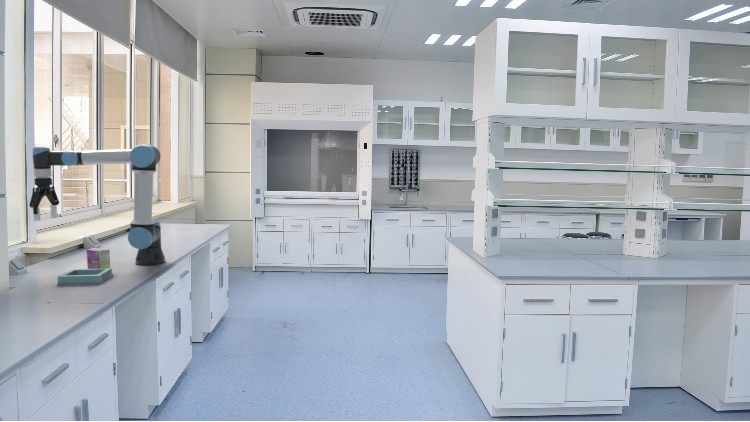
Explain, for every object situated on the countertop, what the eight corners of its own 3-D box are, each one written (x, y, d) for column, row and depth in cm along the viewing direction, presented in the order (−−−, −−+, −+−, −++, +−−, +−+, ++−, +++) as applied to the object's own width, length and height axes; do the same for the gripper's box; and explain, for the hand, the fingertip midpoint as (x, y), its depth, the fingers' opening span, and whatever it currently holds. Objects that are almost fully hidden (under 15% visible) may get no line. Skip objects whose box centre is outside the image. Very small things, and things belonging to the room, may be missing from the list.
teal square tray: (113, 275, 258) (112, 267, 258) (99, 284, 240) (98, 275, 240) (73, 276, 255) (73, 268, 255) (57, 285, 238) (56, 277, 237)
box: (87, 272, 266) (86, 249, 265) (97, 270, 271) (96, 247, 270) (100, 274, 262) (99, 250, 260) (110, 272, 267) (109, 249, 265)
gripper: (51, 176, 278) (53, 216, 280) (18, 178, 253) (22, 222, 255) (65, 176, 278) (67, 216, 280) (34, 178, 253) (37, 222, 255)
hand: (45, 219), depth 268 cm, fingers open, 13 cm apart
